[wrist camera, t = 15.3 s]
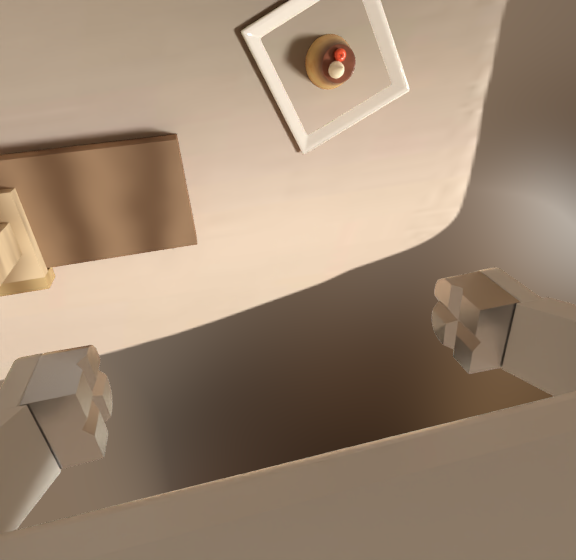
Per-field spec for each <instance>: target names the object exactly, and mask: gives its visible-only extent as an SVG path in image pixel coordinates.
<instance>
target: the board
mask: <svg viewBox="0 0 576 560" xmlns="http://www.w3.org/2000/svg"><path fill="white" fill-rule="evenodd" d="M11 188H15V189H16V192H17V194H18V197H19V199H20V202H21V204H22V207H23V209H24V212H25V214H26V217H27V219H28V222H29V225H30V227H31V230H32V232H33V235H34V237H35V240H36V242H37V245H38V247H39V250H40V252H41V255H42V257H43V260H44V262H45V265H46V267H47V268H50V267H57V266H63V265H69V264H76V263H82V262H88V261H95V260H101V259H107V258H113V257H120V256H126V255H132V254H139V253H145V252H151V251H158V250H164V249H170V248H177V247H183V246H189V245H196V244H197V237H196V231H195V226H194V220H193V215H192V210H191V205H190V200H189V195H188V190H187V185H186V179H185V174H184V169H183V164H182V159H181V154H180V149H179V143H178V138H177V134H173V135H164V136H156V137H147V138H139V139H130V140H122V141H113V142H105V143H96V144H88V145H80V146H71V147H63V148H54V149H46V150H37V151H29V152H20V153H12V154H3V155H0V190H3V189H11Z"/></svg>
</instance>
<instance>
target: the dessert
mask: <svg viewBox="0 0 576 560" xmlns="http://www.w3.org/2000/svg"><path fill="white" fill-rule="evenodd" d="M318 1H320V0H288V1H287V2H285V3H284V4H282V5H280V6H279V7H277V8H276V9H274V10H272V11H271V12H269V13H268V14H266V15H265V16H263V17H261V18H260V19H258V20H257V21H255V22H254V23H252V24H250V25H249V26H247V27H246V28H244V29H243V30H241V34H242V36H243V38H244V40H245V42H246V44H247V46H248V48H249V50H250V52H251V54H252V56H253V58H254V60H255V61H256V63H257V65H258V67H259V69H260V71H261V73H262V75H263V77H264V79H265V81H266V83H267V85H268V87H269V89H270V91H271V93H272V95H273V97H274V99H275V101H276V103H277V105H278V107H279V109H280V111H281V113H282V115H283V117H284V119H285V121H286V122H287V124H288V126H289V128H290V130H291V132H292V134H293V136H294V138H295V140H296V142H297V144H298V146H299V148H300V150H301V152H302V154H303V155H305V154H306V153H308V152H310V151H311V150H313V149H315V148H316V147H318V146H320V145H321V144H323V143H325V142H326V141H328V140H329V139H331V138H333V137H334V136H336V135H338V134H339V133H341V132H343V131H344V130H346V129H348V128H349V127H351V126H352V125H354V124H356V123H357V122H359V121H361V120H362V119H364V118H366V117H367V116H369V115H371V114H372V113H374V112H376V111H377V110H379V109H380V108H382V107H384V106H385V105H387V104H389V103H390V102H392V101H394V100H395V99H397V98H399V97H400V96H402V95H403V94H405V93H407V92H408V91H409V90H410V88H409V85H408V82H407V79H406V76H405V73H404V70H403V67H402V64H401V61H400V58H399V55H398V52H397V49H396V46H395V42H394V39H393V36H392V33H391V30H390V27H389V24H388V21H387V18H386V15H385V12H384V9H383V6H382V3H381V0H362V1H363V4H364V6H365V9H366V12H367V15H368V18H369V21H370V23H371V26H372V29H373V32H374V35H375V38H376V41H377V43H378V46H379V49H380V52H381V55H382V58H383V60H384V63H385V66H386V69H387V72H388V75H389V78H390V80H391V85H390V86H388V87H386V88H385V89H383V90H382V91H380V92H378V93H377V94H375V95H373V96H372V97H370V98H368V99H367V100H365V101H363V102H362V103H360V104H359V105H357V106H355V107H354V108H352V109H350V110H349V111H347V112H345V113H344V114H342V115H340V116H339V117H337V118H336V119H334V120H332V121H331V122H329V123H327V124H326V125H324V126H322V127H321V128H319V129H317V130H316V131H314V132H313V133H311V134H309V135H307V134H306V132H305V130H304V128H303V126H302V124H301V121H300V119H299V117H298V115H297V113H296V111H295V109H294V107H293V105H292V103H291V101H290V99H289V97H288V95H287V93H286V91H285V89H284V87H283V85H282V83H281V81H280V79H279V77H278V74H277V72H276V70H275V68H274V66H273V64H272V62H271V60H270V58H269V56H268V54H267V52H266V50H265V48H264V46H263V44H262V42H261V37H263V36H264V35H266V34H267V33H269V32H271V31H272V30H274V29H275V28H277V27H278V26H280V25H282V24H283V23H285V22H286V21H288V20H290V19H291V18H293V17H294V16H296V15H297V14H299V13H301V12H302V11H304V10H305V9H307V8H309V7H310V6H312V5H313V4H315V3H316V2H318ZM305 66H306V72H307V75H308V77H309V79H310V80H311V81H312V83H313V84H315V85H316V86H317V87H319V88H322V89H334V88H337V87H338V86H340V85H341V84H343V83H344V82H345V81H346V80H348V79H349V78H350V77H351V75H352V74H353V72H354V69H355V56H354V53H353V51H352V50H351V48H350V46H349V44H348V43H347V42H346V41H345V40H344V39H343V38H342V37H340V36H338V35H335V34H326V35H323V36H321V37H319V38H317V39H316V40H315V41H314V42H313V43H312V44H311V46H310V48H309V50H308V52H307V55H306V61H305Z"/></svg>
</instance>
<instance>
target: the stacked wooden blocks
mask: <svg viewBox="0 0 576 560" xmlns="http://www.w3.org/2000/svg"><path fill="white" fill-rule="evenodd" d="M54 278H55V274H54V271H53V269H52V267H50V268H47V267H46V265H45V262H44V260H43V257H42V255H41V252H40V250H39V247H38V245H37V242H36V240H35V237H34V235H33V232H32V230H31V227H30V225H29V222H28V219H27V217H26V214H25V212H24V209H23V207H22V204H21V202H20V199H19V197H18V194H17V192H16V189H15V188H11V189H3V190H0V296H6V295H12V294H18V293H24V292H31V291H37V290H43V289H49V288H50V286H51V284H52V282H53V280H54Z"/></svg>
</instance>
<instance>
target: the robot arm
mask: <svg viewBox="0 0 576 560" xmlns="http://www.w3.org/2000/svg"><path fill="white" fill-rule="evenodd" d="M434 295H435V296H436V297H437V299H438V300H439V302H438V303H437V304H436V305H435V307H434V308H433V310H432V325H433V329H434V332H435V334H436V336H437V338H438V339H439V340H440V342H441V343H442V344H443V345H445V346H447V347H450V348H452V349H454V353H453V357H454V358H455V359H456V360H457V361H458V362H459V363H460V364H461V366H462V367H463V368H464V369H465V370H466V371H467V372H468V373H469V374H471V373H476V372H481V371H486V370H491V369H496V368H501V367H502V369H503V370H505V371H506V372H509V373H510V374H512V375H514V376H516V377H518V378H520V379H522V380H524V381H526V382H528V383H530V384H532V385H534V386H535V387H537V388H539V389H541V390H543V391H545V392H547V393H549V394H551V395H553V396H554V397H551V398H547V399H543V400H539V401H535V402H531V403H527V404H522V405H519V406H514V407H511V408H506V409H502V410H498V411H494V412H490V413H486V414H482V415H478V416H474V417H470V418H466V419H461V420H457V421H454V422H450V423H446V424H441V425H438V426H433V427H429V428H425V429H421V430H417V431H413V432H409V433H405V434H401V435H396V436H392V437H389V438H384V439H380V440H376V441H372V442H368V443H364V444H360V445H356V446H353V447H349V448H344V449H340V450H336V451H332V452H328V453H324V454H321V455H317V456H312V457H309V458H304V459H301V460H296V461H292V462H288V463H284V464H280V465H276V466H272V467H268V468H264V469H260V470H257V471H252V472H248V473H245V474H240V475H236V476H232V477H228V478H224V479H220V480H216V481H212V482H208V483H204V484H200V485H196V486H192V487H188V488H184V489H179V490H175V491H171V492H168V493H163V494H159V495H155V496H151V497H147V498H143V499H139V500H135V501H131V502H127V503H123V504H119V505H115V506H111V507H107V508H103V509H99V510H95V511H91V512H87V513H83V514H79V515H75V516H71V517H67V518H63V519H59V520H54V521H51V522H46V523H43V524H38V525H34V526H30V527H27V528H23V529H18V530H16V529H17V528H18V527H19V525H20V524H21V523H22V522H23V520H24V519H25V518H26V516H27V515H28V513H29V512H30V511H31V510H32V509H33V507H34V506H35V505H36V503H37V502H38V501H39V500H40V498H41V497H42V496H43V494H44V493H45V492H46V490H47V489H48V488H49V487H50V485H51V484H52V483H53V481H54V480H55V479H56V477H57V476H58V475H59V474H60V472H61V470H60V469H63V468H67V467H71V466H75V465H79V464H82V463H87V462H91V461H94V460H98V459H102V458H104V455H105V449H106V444H107V438H108V431H107V428H106V426H105V423H106V422H107V421H108V420H109V418H110V417H111V414H112V392H111V387H110V383H109V381H108V378H107V375H106V374H104V373H102V372H100V371H99V366H100V361H101V359H100V357H99V354H98V352H97V350H96V348H95V347H94V346H93V345H88V346H83V347H77V348H71V349H65V350H59V351H53V352H47V353H44V354H36V355H31V356H26V357H21V358H18V359H16V360H15V361H14V362H13V364H12V366H11V368H10V370H9V372H8V374H7V376H6V378H5V380H4V383H3V384H2V386H1V388H0V560H576V305H575V304H572V303H568V302H564V301H561V300H557V299H553V298H549V297H546V298H541V297H540V296H538V295H537V294H535V293H534V292H533V291H531V290H530V289H528V288H527V287H525V286H524V285H523V284H521V283H520V282H518V281H517V280H516V279H514V278H513V277H511V276H510V275H508V274H507V273H505V272H504V271H503V270H501V269H500V268H495V267H493V268H488V269H484V270H480V271H476V272H473V273H467V274H463V275H458V276H453V277H448V278H443V279H439V280H438V281H437V283H436V285H435V291H434Z"/></svg>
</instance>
